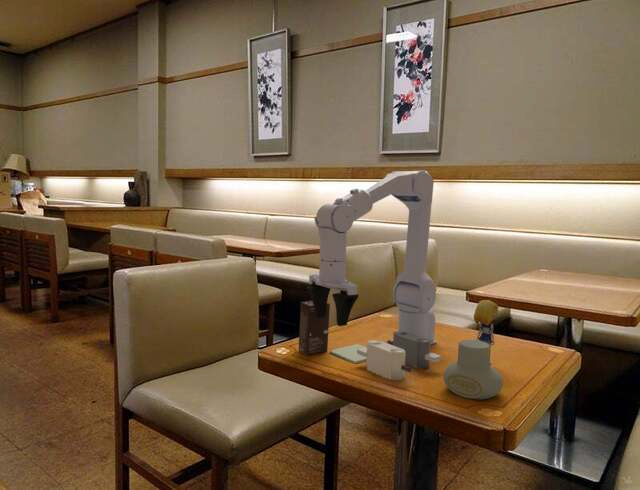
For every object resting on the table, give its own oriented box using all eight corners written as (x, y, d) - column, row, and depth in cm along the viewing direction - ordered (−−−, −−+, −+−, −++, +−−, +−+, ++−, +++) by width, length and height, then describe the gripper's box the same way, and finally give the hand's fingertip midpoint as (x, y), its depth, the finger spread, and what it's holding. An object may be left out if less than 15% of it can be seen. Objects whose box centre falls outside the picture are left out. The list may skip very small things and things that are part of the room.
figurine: (498, 365, 109) (502, 300, 107) (483, 370, 106) (487, 303, 104) (481, 359, 113) (485, 296, 111) (466, 363, 110) (470, 299, 108)
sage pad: (357, 345, 120) (357, 343, 120) (383, 356, 113) (383, 353, 113) (329, 352, 115) (329, 350, 115) (355, 363, 108) (355, 361, 108)
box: (308, 356, 112) (309, 305, 111) (298, 350, 116) (299, 301, 114) (329, 352, 115) (330, 302, 114) (319, 346, 119) (320, 299, 118)
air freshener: (436, 392, 93) (438, 342, 92) (453, 380, 100) (456, 333, 99) (492, 409, 86) (495, 355, 85) (507, 395, 93) (510, 345, 92)
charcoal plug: (382, 355, 114) (383, 330, 113) (393, 352, 116) (394, 328, 115) (431, 374, 103) (433, 347, 102) (442, 370, 105) (443, 344, 104)
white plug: (415, 382, 98) (416, 354, 97) (403, 386, 96) (404, 357, 95) (365, 362, 109) (366, 336, 108) (354, 365, 107) (355, 339, 106)
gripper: (298, 257, 107) (297, 316, 109) (339, 265, 96) (337, 332, 97) (323, 255, 112) (322, 312, 113) (365, 263, 100) (363, 326, 102)
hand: (331, 321), depth 106 cm, fingers open, 7 cm apart
